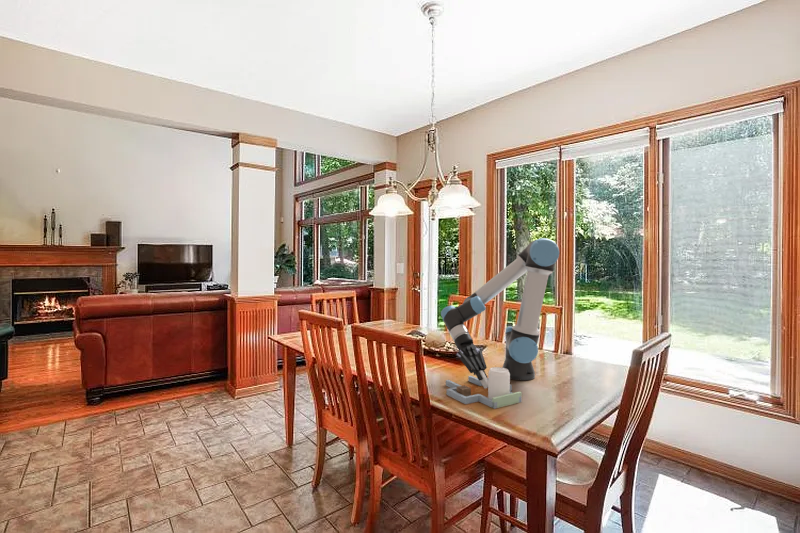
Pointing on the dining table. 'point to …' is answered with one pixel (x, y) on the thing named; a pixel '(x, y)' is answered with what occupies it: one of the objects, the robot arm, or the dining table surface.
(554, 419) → the dining table surface
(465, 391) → the walnut cube
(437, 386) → the dining table surface
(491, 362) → the dining table surface
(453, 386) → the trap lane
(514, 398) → the end wall
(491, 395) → the beverage can
